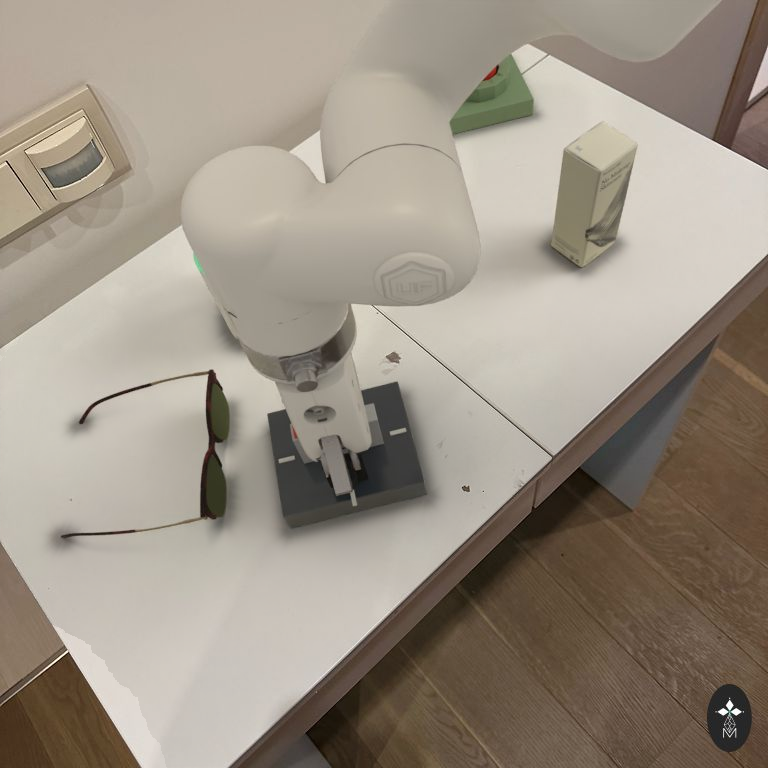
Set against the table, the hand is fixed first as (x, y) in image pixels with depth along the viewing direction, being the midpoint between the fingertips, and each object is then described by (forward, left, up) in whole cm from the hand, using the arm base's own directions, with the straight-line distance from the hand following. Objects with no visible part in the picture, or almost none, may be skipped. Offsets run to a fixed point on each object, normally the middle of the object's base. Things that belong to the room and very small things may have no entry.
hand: (341, 442), depth 63 cm
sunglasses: (+18, -4, -4) cm, 19 cm away
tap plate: (0, 0, -4) cm, 4 cm away
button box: (-24, -42, -4) cm, 49 cm away
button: (-24, -42, 0) cm, 48 cm away
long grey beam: (0, 0, -1) cm, 1 cm away
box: (-28, -17, -4) cm, 33 cm away
